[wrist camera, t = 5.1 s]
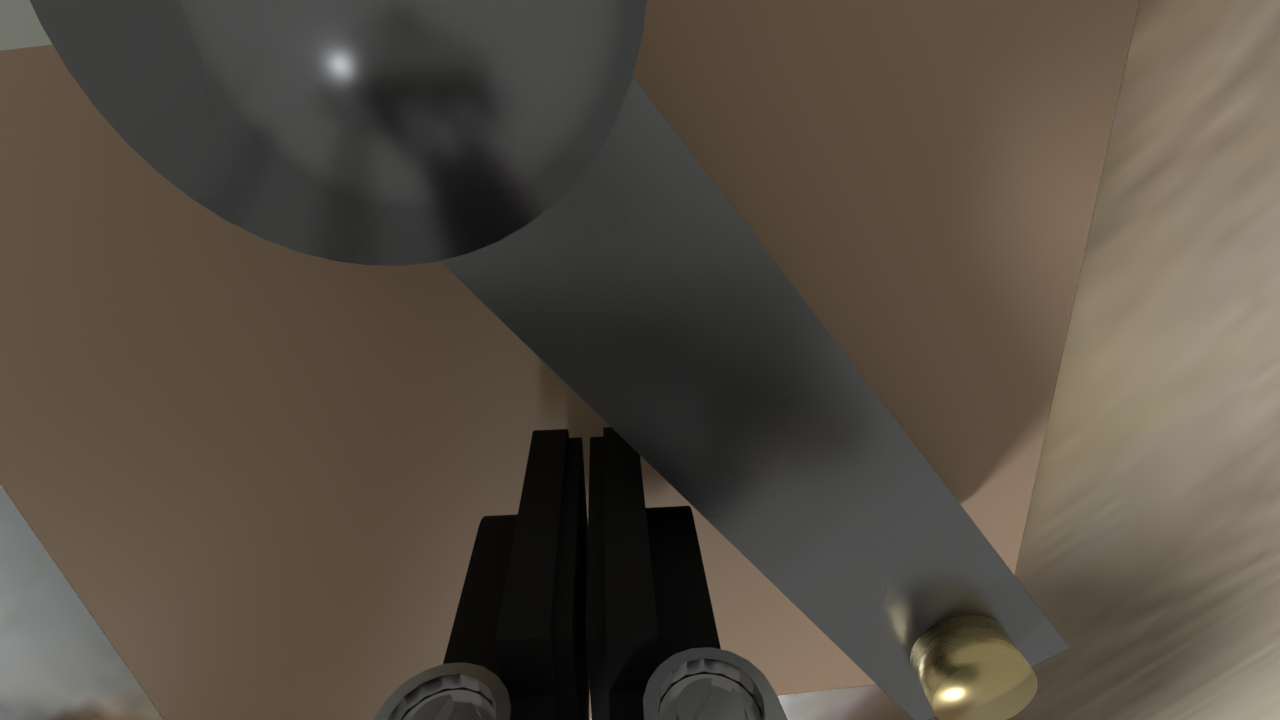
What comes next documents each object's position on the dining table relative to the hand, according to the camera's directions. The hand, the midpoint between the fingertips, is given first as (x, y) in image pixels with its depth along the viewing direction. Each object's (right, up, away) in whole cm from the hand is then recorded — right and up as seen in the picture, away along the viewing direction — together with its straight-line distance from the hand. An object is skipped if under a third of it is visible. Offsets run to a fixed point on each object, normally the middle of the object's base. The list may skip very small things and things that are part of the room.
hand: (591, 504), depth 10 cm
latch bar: (+1, +4, -1) cm, 4 cm away
